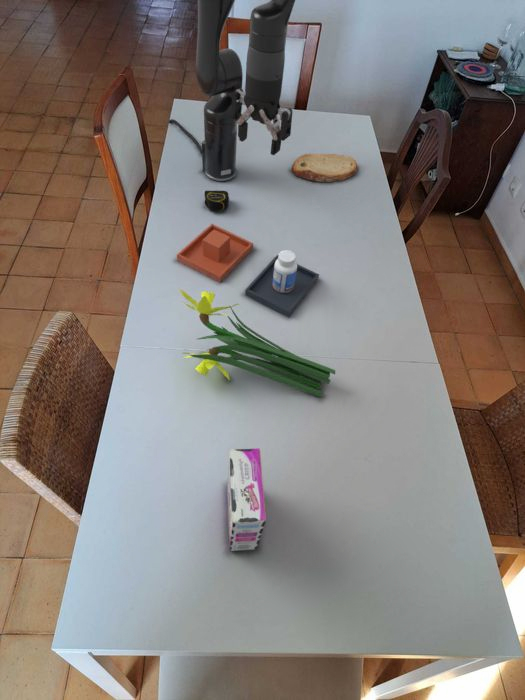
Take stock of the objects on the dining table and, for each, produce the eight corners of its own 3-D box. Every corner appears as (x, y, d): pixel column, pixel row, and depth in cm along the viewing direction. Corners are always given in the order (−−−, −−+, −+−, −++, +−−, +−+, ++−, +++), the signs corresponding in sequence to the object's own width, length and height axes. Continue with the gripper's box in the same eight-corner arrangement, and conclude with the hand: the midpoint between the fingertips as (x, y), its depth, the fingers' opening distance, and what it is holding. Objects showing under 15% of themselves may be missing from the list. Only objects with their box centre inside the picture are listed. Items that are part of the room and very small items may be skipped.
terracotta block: (202, 255, 117) (202, 239, 113) (214, 244, 119) (213, 229, 115) (218, 263, 115) (218, 247, 111) (229, 252, 118) (230, 237, 114)
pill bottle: (294, 279, 114) (300, 249, 106) (293, 294, 111) (298, 265, 103) (272, 276, 114) (276, 246, 106) (270, 292, 111) (274, 262, 103)
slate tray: (245, 295, 110) (245, 289, 109) (276, 260, 118) (277, 254, 117) (288, 317, 107) (289, 311, 105) (317, 280, 115) (319, 274, 114)
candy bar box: (259, 550, 76) (267, 521, 63) (229, 552, 75) (231, 524, 62) (254, 484, 83) (260, 446, 69) (226, 486, 82) (228, 448, 69)
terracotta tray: (177, 260, 115) (176, 254, 114) (212, 229, 124) (211, 223, 122) (220, 282, 112) (220, 276, 110) (252, 249, 120) (253, 243, 119)
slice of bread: (361, 167, 148) (364, 156, 145) (337, 193, 138) (340, 182, 135) (312, 148, 152) (314, 137, 149) (286, 172, 142) (287, 161, 139)
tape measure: (228, 199, 132) (228, 188, 129) (229, 214, 128) (229, 203, 125) (204, 199, 131) (204, 187, 128) (204, 214, 127) (204, 202, 124)
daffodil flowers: (313, 432, 91) (145, 369, 85) (306, 396, 104) (161, 340, 99) (352, 361, 85) (175, 288, 79) (340, 333, 98) (187, 270, 93)
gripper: (304, 75, 91) (293, 151, 104) (245, 53, 95) (242, 129, 108) (285, 88, 87) (276, 165, 100) (225, 65, 91) (223, 142, 104)
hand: (258, 146), depth 104 cm, fingers open, 8 cm apart
